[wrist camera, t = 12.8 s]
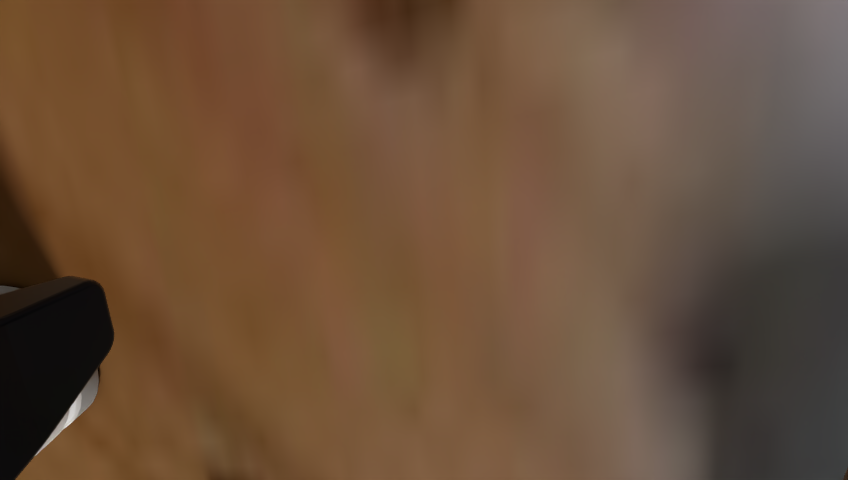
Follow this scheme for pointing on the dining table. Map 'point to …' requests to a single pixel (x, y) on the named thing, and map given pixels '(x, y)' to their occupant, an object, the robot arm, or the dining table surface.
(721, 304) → the dining table surface
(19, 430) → the robot arm
